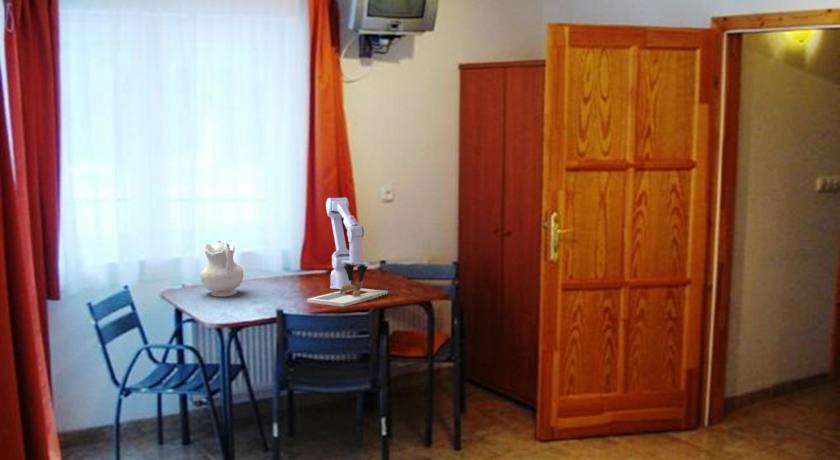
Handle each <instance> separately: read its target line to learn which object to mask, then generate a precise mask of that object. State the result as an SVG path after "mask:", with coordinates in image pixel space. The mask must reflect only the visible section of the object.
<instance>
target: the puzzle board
mask: <svg viewBox="0 0 840 460" xmlns="http://www.w3.org/2000/svg"><path fill="white" fill-rule="evenodd" d="M376 290H377V289H370V288H363V287H362V288H361V289H360V290H359V291H360V292H361V291H362V292H366V293H368V292H372V291H376ZM340 292H341V290H339V291H334V292H330V293H326V294H322V295H317V296H314V297H309V298H306V303H309V304H319V305H326V306H335V307H343V308H344V307H347V306H350V305H355V304H358V303H362V302H366V301H370V300H373V299H377V298H380V297H382V295H383V296H385V294H386V295H387V294H388V293H384V294H380V295H377V296H373V297H369V298H365V299H360V298H353V294H347V295H345V291H344V292H343V293H342V294H340ZM350 292H351V291H349V290H347V293H350ZM379 296H380V297H379Z"/></svg>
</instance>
